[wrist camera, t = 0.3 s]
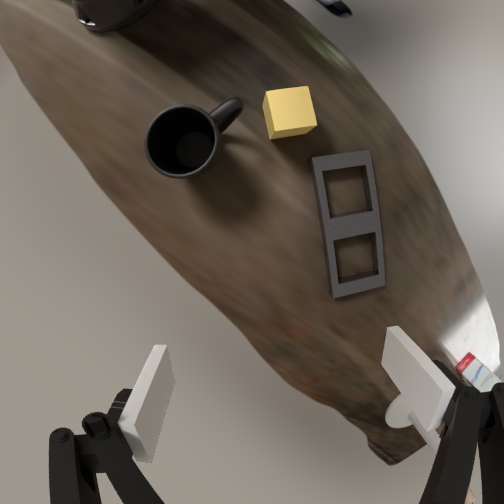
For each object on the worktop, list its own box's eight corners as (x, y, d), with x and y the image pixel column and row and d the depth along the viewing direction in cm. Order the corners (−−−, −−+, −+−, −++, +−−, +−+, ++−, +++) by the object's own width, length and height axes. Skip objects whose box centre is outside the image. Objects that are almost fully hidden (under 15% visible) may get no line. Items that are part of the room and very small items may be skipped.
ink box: (454, 366, 49) (483, 396, 38) (469, 350, 48) (500, 377, 37) (464, 382, 51) (490, 410, 39) (478, 367, 50) (505, 393, 38)
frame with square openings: (308, 158, 39) (311, 157, 37) (364, 151, 39) (369, 150, 37) (329, 293, 44) (333, 298, 42) (379, 281, 44) (385, 285, 42)
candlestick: (376, 410, 50) (432, 523, 21) (426, 373, 49) (503, 471, 20) (396, 433, 53) (445, 527, 24) (440, 400, 51) (503, 485, 22)
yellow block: (262, 105, 37) (266, 91, 30) (297, 100, 37) (307, 85, 30) (269, 139, 38) (275, 131, 32) (305, 134, 38) (317, 125, 31)
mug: (259, 141, 38) (264, 129, 29) (186, 190, 40) (170, 193, 30) (226, 95, 37) (221, 71, 27) (154, 144, 38) (130, 134, 29)
